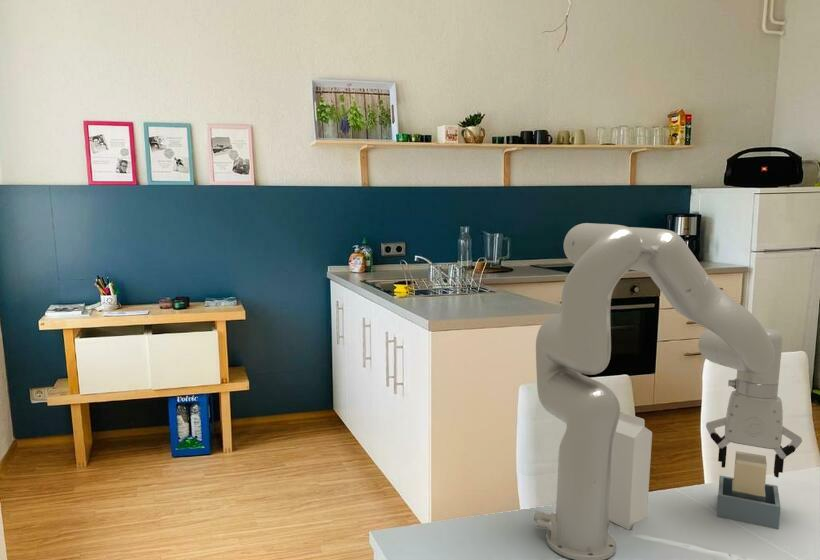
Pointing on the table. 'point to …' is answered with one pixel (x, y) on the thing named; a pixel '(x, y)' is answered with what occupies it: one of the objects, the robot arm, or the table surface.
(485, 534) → the table surface
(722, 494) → the tote
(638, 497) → the milk
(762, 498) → the block
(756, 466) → the beige cube
